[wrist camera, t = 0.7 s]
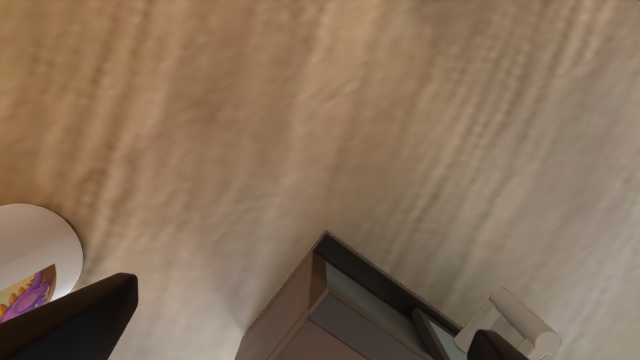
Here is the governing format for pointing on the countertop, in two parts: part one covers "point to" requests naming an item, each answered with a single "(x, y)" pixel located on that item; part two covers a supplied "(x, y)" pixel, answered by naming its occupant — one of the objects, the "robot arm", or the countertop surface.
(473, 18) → the countertop surface
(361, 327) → the cupboard
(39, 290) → the milk bottle
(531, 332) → the glass door
